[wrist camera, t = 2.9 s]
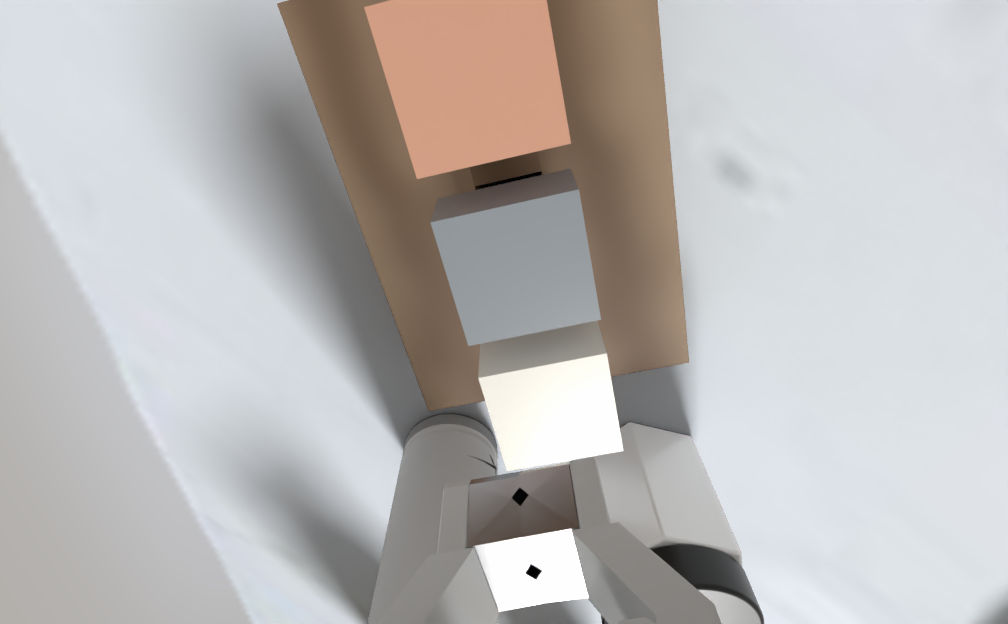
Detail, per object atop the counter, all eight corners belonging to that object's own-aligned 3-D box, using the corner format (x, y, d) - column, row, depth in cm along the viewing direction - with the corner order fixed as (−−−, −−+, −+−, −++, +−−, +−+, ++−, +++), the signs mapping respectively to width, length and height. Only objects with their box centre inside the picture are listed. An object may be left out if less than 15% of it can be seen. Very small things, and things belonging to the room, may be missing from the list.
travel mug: (509, 418, 38) (517, 783, 21) (485, 488, 41) (474, 858, 24) (415, 399, 37) (340, 762, 20) (397, 472, 40) (319, 842, 23)
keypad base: (622, -83, 25) (648, -98, 20) (665, 314, 34) (689, 362, 30) (314, 1, 26) (277, 3, 22) (437, 359, 36) (428, 411, 31)
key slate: (558, 137, 25) (578, 189, 19) (576, 241, 28) (601, 319, 21) (447, 163, 26) (430, 222, 19) (475, 263, 28) (468, 345, 22)
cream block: (582, 269, 28) (606, 353, 22) (597, 352, 31) (623, 450, 24) (483, 289, 29) (478, 378, 22) (505, 370, 31) (506, 471, 25)
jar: (567, 432, 39) (592, 596, 28) (690, 408, 38) (763, 569, 27) (589, 522, 43) (618, 694, 32) (700, 503, 42) (767, 674, 31)
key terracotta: (527, -31, 22) (539, -40, 16) (552, 102, 25) (571, 143, 18) (403, 2, 23) (364, 7, 16) (438, 129, 25) (417, 179, 18)
